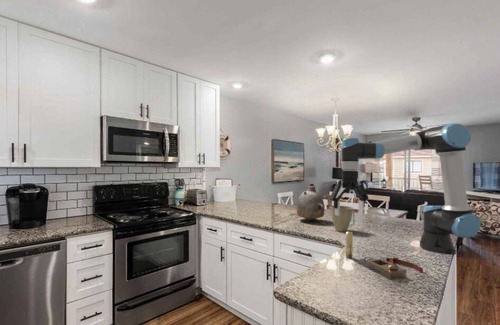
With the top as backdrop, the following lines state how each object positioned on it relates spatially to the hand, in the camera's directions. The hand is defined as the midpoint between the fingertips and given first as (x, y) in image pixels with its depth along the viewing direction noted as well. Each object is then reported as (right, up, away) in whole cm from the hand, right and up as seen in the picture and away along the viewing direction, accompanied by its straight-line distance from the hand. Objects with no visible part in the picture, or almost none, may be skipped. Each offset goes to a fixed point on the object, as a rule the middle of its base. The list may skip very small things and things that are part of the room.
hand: (349, 214), depth 123 cm
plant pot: (+15, -22, +53) cm, 59 cm away
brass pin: (0, -20, 0) cm, 20 cm away
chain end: (+7, -20, -12) cm, 25 cm away
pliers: (+19, -21, -9) cm, 30 cm away
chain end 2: (+8, -20, -17) cm, 28 cm away
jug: (+1, -22, +82) cm, 85 cm away
